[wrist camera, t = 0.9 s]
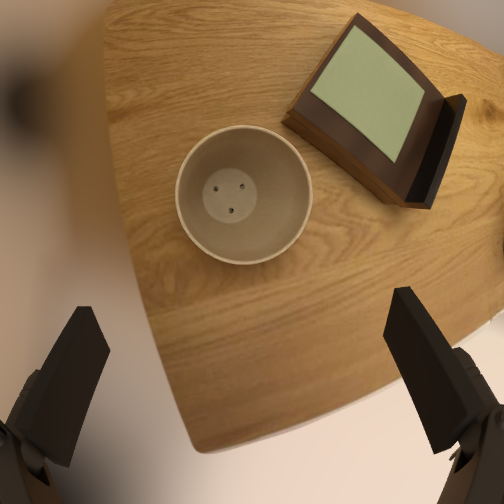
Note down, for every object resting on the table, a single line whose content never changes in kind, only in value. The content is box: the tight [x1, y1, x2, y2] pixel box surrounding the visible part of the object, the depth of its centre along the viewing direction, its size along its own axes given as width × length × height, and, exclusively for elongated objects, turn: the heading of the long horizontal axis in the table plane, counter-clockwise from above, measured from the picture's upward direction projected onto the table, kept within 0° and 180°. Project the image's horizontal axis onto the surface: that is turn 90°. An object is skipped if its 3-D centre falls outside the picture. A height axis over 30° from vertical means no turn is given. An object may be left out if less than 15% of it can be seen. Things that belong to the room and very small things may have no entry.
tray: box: [281, 13, 467, 209], centre depth 27 cm, size 16×16×7 cm
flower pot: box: [175, 125, 313, 265], centre depth 25 cm, size 10×10×7 cm
